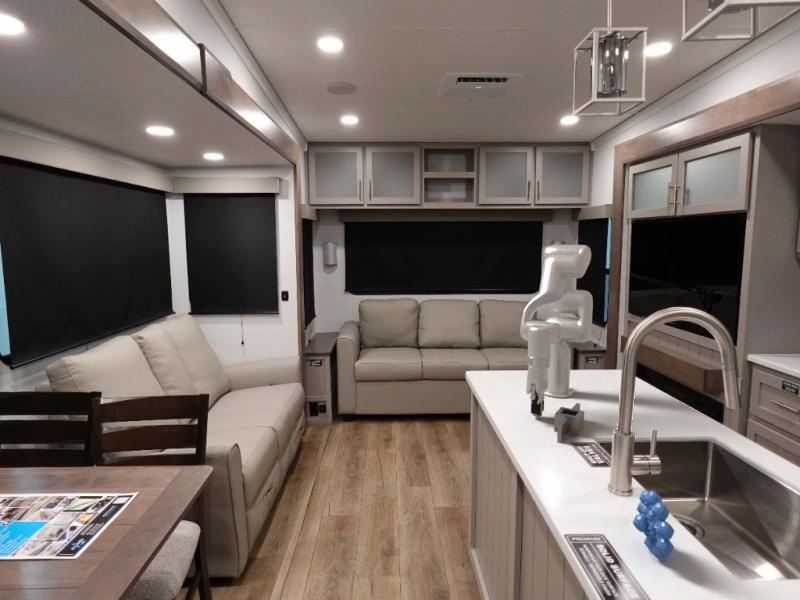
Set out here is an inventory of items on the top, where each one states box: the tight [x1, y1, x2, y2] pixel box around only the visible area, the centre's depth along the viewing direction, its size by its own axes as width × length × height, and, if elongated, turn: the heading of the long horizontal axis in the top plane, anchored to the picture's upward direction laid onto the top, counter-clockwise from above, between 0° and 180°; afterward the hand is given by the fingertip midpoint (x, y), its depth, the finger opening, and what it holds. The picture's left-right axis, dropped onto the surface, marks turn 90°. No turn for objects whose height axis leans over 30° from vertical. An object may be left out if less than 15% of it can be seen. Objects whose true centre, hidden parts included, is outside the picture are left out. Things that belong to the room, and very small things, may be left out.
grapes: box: [632, 489, 675, 562], centre depth 94 cm, size 12×7×12 cm, turn 177°
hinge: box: [553, 402, 585, 444], centre depth 155 cm, size 24×8×6 cm, turn 146°
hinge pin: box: [532, 393, 543, 418], centre depth 165 cm, size 3×3×9 cm
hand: (537, 411), depth 166 cm, fingers closed on hinge pin, 3 cm apart
